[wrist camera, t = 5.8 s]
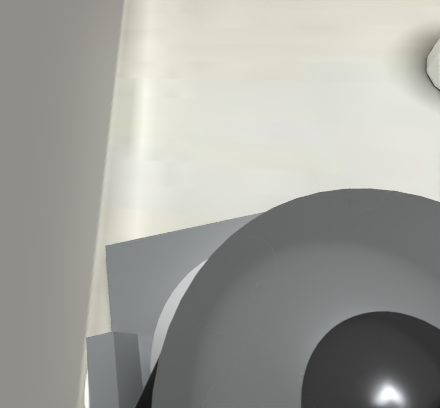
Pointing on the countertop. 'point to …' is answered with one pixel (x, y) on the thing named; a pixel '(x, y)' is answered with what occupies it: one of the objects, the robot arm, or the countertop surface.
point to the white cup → (434, 64)
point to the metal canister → (313, 310)
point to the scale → (145, 307)
